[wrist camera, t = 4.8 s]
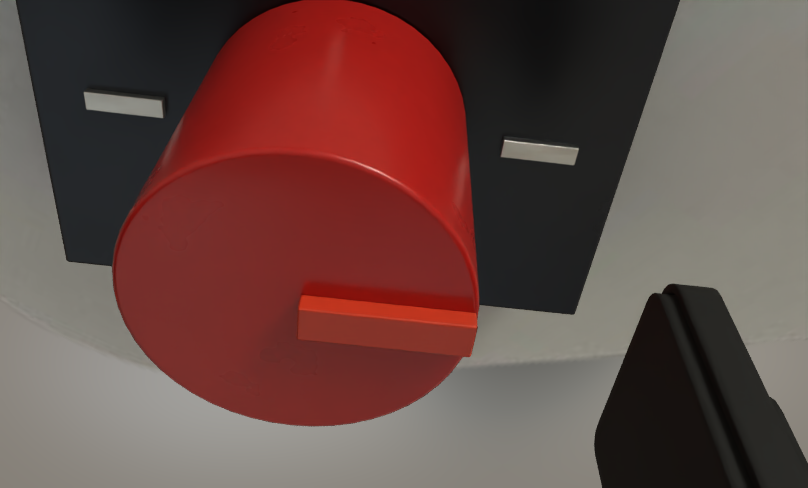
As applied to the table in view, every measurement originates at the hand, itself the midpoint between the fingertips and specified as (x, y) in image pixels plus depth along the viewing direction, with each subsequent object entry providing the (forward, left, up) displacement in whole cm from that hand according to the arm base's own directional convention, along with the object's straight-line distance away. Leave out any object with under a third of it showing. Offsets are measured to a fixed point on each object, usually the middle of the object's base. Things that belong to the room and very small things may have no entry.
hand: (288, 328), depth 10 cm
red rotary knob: (0, 0, -5) cm, 5 cm away
